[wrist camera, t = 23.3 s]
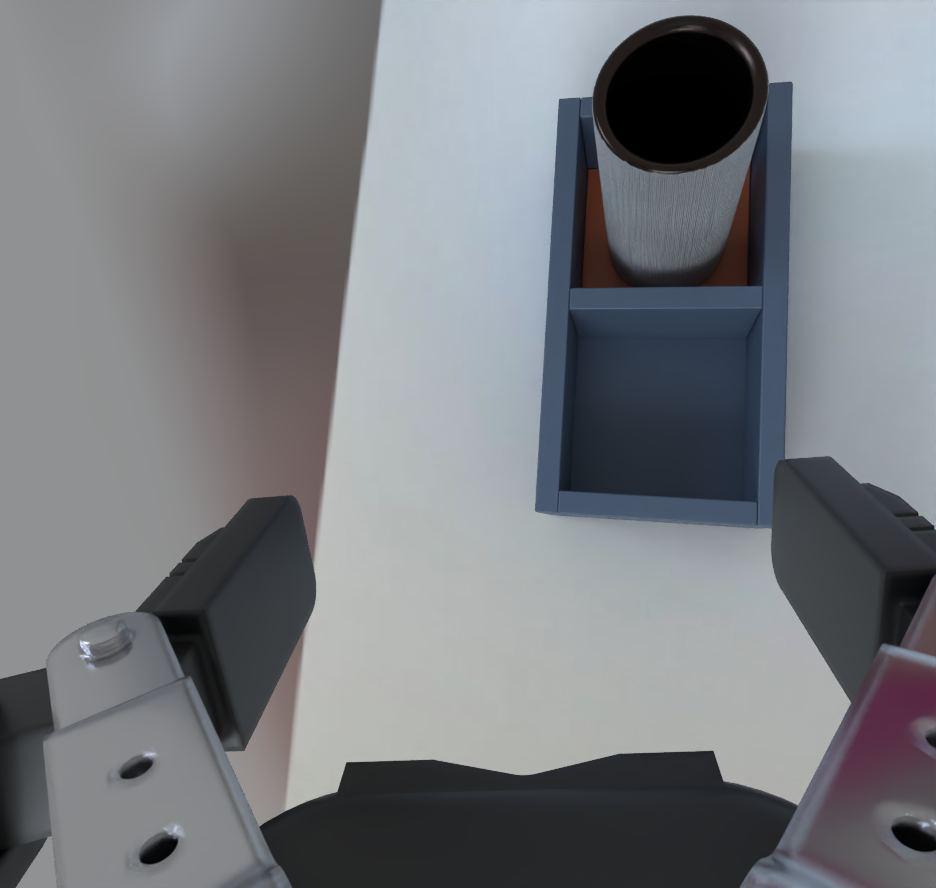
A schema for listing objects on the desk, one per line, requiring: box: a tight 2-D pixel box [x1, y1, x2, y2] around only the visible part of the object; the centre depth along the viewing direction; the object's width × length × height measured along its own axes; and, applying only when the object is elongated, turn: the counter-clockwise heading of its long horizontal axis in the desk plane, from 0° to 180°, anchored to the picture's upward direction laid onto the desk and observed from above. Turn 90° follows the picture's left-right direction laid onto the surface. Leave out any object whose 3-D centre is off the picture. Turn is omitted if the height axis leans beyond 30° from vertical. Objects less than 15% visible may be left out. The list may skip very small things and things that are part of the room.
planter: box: [592, 15, 769, 287], centre depth 24 cm, size 4×4×10 cm
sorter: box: [535, 82, 793, 528], centre depth 27 cm, size 8×15×5 cm, turn 175°
